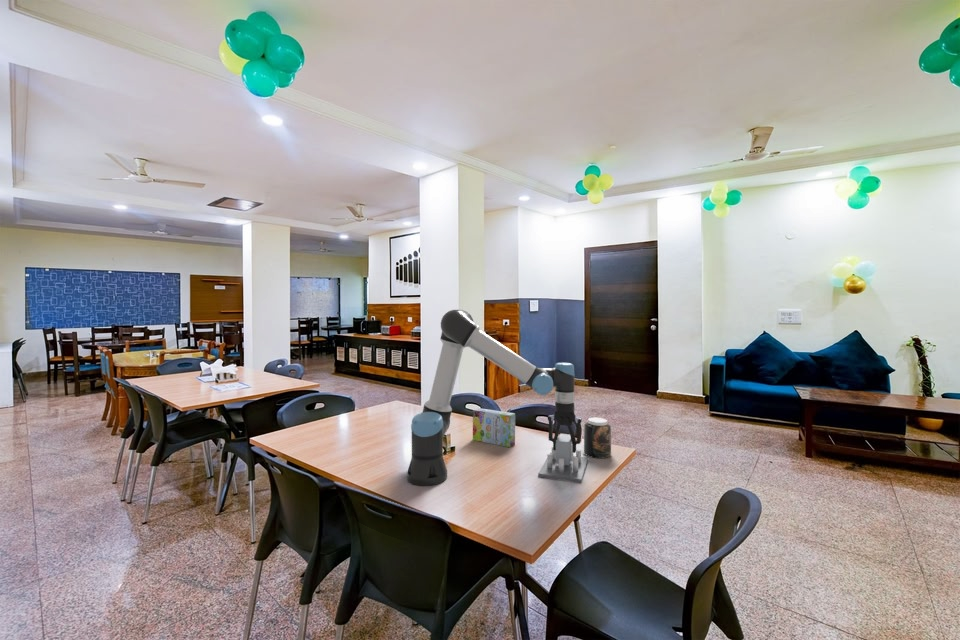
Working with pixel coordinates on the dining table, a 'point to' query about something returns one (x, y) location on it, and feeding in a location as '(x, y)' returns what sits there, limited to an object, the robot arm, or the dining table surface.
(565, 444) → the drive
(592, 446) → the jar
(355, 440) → the dining table surface
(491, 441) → the snack box
